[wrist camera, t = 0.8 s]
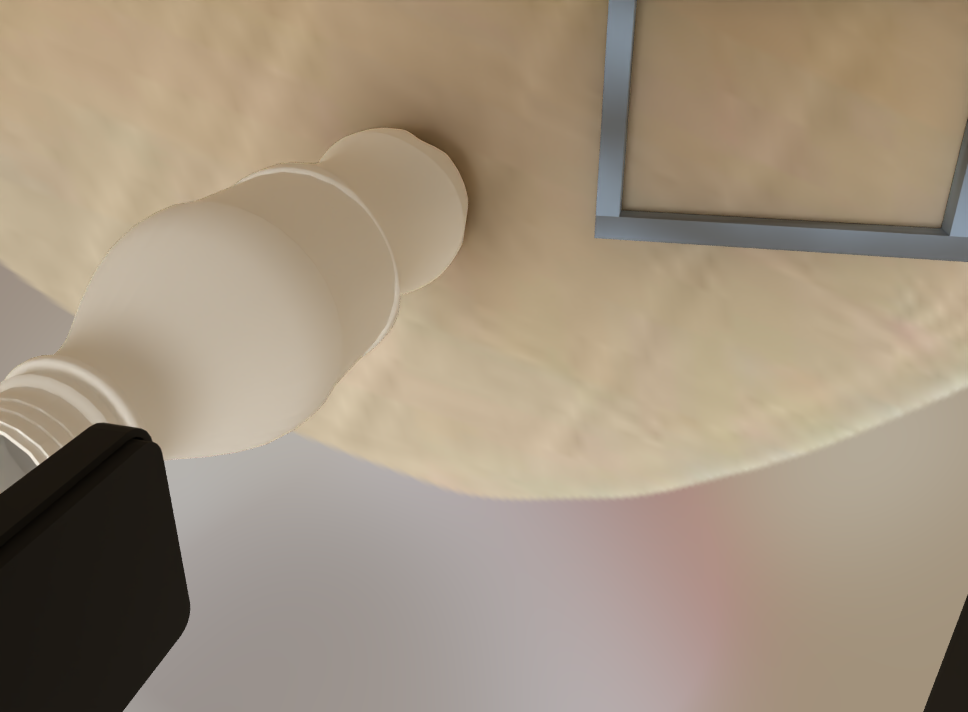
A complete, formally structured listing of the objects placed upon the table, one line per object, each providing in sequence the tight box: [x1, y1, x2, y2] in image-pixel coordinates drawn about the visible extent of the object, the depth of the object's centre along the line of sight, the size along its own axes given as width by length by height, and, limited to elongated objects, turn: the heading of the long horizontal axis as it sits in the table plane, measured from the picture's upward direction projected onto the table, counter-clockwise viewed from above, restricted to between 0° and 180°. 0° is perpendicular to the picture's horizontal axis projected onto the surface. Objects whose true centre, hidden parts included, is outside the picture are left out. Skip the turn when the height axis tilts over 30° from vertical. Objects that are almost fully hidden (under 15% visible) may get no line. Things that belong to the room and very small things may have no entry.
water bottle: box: [0, 128, 468, 494], centre depth 26 cm, size 7×7×25 cm
